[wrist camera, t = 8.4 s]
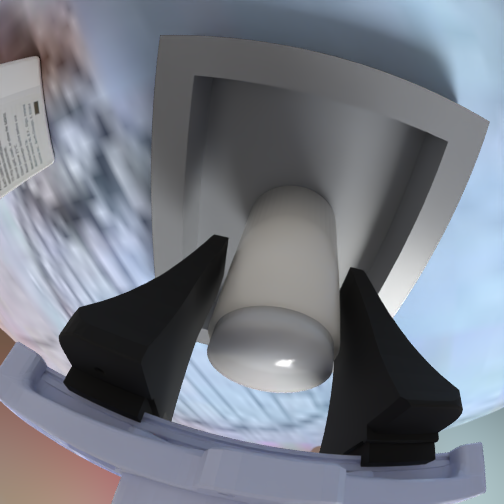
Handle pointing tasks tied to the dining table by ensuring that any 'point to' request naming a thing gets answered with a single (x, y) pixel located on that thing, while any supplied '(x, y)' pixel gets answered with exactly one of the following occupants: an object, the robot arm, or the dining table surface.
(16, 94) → the container
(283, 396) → the dining table surface
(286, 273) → the shaker
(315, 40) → the dining table surface
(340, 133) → the tray
